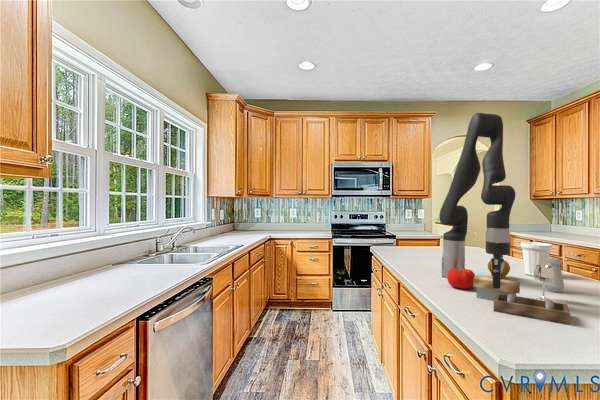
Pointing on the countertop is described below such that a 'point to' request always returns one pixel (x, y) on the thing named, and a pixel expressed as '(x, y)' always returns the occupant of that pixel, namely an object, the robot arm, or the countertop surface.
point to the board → (504, 284)
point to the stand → (490, 293)
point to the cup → (535, 255)
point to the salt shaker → (556, 276)
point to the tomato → (460, 278)
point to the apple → (505, 270)
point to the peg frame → (532, 308)
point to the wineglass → (543, 277)
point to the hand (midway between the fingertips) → (497, 285)
